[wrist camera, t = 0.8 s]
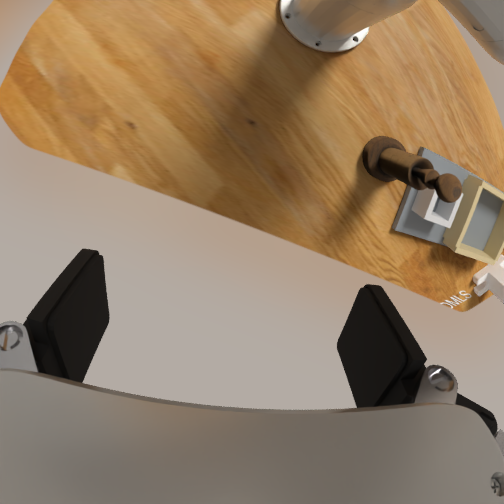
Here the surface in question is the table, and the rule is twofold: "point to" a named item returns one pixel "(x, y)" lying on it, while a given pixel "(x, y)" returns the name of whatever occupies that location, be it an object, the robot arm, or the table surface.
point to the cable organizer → (491, 279)
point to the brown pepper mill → (408, 168)
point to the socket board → (456, 214)
